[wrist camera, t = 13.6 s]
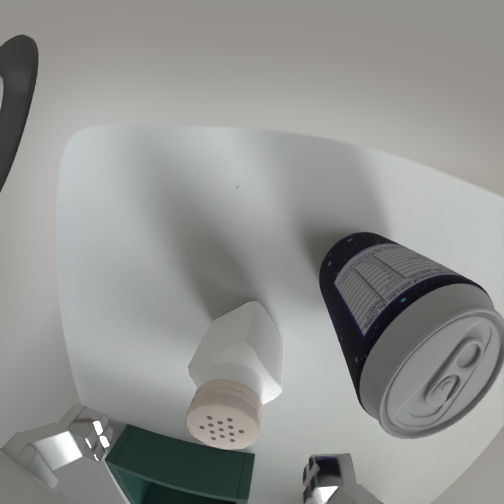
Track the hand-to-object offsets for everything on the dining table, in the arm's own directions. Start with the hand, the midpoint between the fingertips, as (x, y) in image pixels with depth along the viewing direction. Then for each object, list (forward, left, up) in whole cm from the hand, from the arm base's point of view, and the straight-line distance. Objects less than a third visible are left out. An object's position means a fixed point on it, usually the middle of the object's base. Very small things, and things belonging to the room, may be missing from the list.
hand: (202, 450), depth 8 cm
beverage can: (+7, +5, -11) cm, 14 cm away
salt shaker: (0, 0, -11) cm, 11 cm away
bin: (-5, -22, -11) cm, 25 cm away
